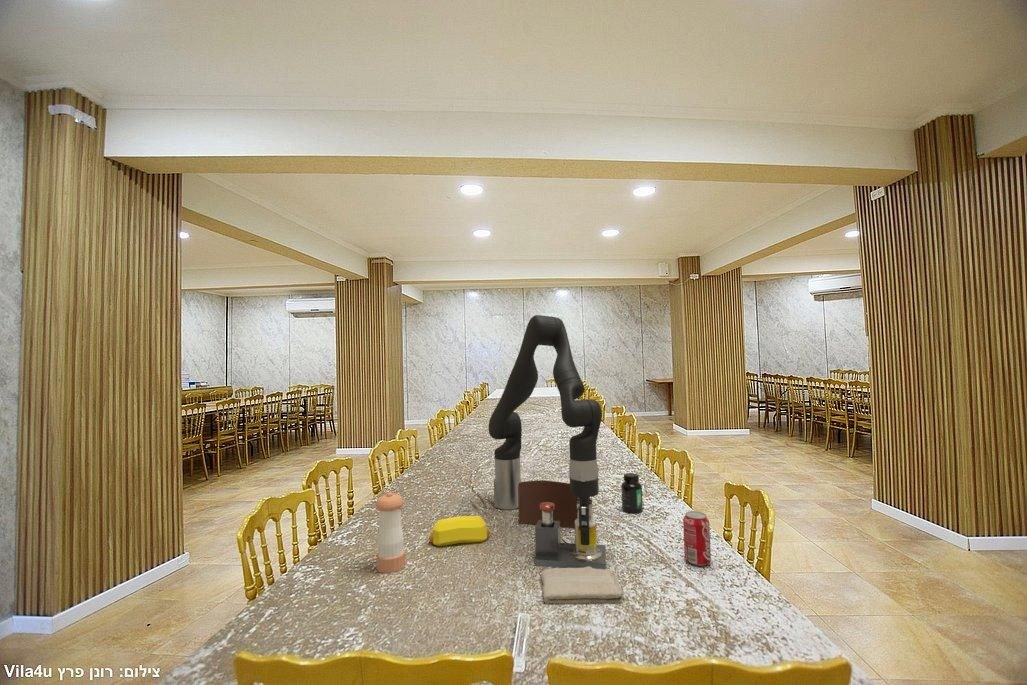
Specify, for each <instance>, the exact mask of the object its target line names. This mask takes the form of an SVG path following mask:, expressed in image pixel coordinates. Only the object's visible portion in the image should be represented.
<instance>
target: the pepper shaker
mask: <svg viewBox="0 0 1027 685" xmlns="http://www.w3.org/2000/svg"><path fill="white" fill-rule="evenodd" d="M404 503H405V502H404V499H403V497H402V496H401V495H400V494H397V493H393V492H391V491H388V492H387V493H386V494H384V495H382V496H380V497H378V498H377V500H376V501H375V507H376V510H378V515H379V517H378V521H379V522H378V526H379V527H378V532H377V533H378V534H377V541H376V542H377V554H376V571H378V572H379V573H383V574H391V573H392V574H393V573H395V572H396V573H397V572H399V571H401V570H403V569H404V568H405V567H406V549H405V548H404V546H405V544H404V534H403V527H402V512H401V508H402V507H403V506H404Z"/></svg>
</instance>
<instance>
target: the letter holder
mask: <svg viewBox="0 0 1027 685" xmlns="http://www.w3.org/2000/svg"><path fill="white" fill-rule="evenodd" d="M577 499H580V498H579V497H578V496H574V495H572V494H571V493H570V482H569V483H568V482H563V481H553V480H527V481H521V482H520V483H519V484H518V508H517V509H518V524H520V525H521V524H522V525H534V526H536V524H537V522H538V520H542V510H541V509H540V503H543V502H551V503H554V504H555V509H554V510H553V521H560V528H566V529H567V528H568V529H575V520H576V519H577V518H578V517H577V516H578V509H577Z"/></svg>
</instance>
